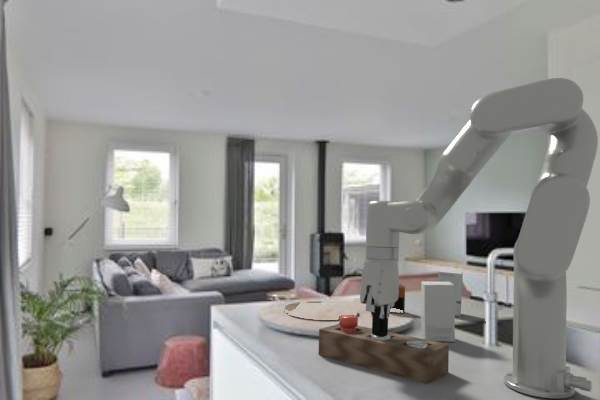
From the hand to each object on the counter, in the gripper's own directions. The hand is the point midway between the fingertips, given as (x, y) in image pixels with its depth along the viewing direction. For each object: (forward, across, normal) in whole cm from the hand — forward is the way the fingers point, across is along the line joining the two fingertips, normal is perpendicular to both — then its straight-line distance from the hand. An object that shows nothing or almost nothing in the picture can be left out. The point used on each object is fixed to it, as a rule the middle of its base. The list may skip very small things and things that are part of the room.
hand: (379, 334), depth 108 cm
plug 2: (+5, 0, +9) cm, 11 cm away
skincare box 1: (+6, -30, 0) cm, 31 cm away
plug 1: (+5, 0, 0) cm, 5 cm away
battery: (+7, -54, -27) cm, 61 cm away
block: (+6, 0, 0) cm, 6 cm away
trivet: (+7, -34, -44) cm, 56 cm away
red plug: (+3, 0, -9) cm, 9 cm away
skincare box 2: (+6, -66, -12) cm, 67 cm away
